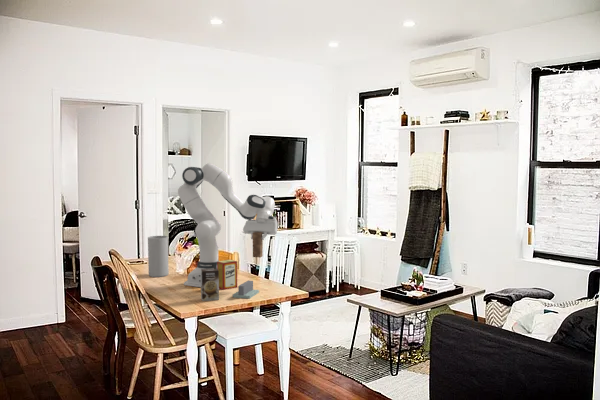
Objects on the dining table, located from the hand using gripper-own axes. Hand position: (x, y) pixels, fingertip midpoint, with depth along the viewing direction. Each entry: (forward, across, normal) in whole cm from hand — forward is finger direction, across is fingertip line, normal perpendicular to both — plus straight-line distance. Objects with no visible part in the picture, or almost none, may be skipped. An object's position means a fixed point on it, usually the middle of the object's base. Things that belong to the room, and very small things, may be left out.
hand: (257, 239), depth 317 cm
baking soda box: (+22, -18, +19) cm, 34 cm away
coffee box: (+42, -16, 0) cm, 44 cm away
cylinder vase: (+9, -75, +33) cm, 82 cm away
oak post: (+7, 0, +8) cm, 10 cm away
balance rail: (+31, -1, +10) cm, 33 cm away
